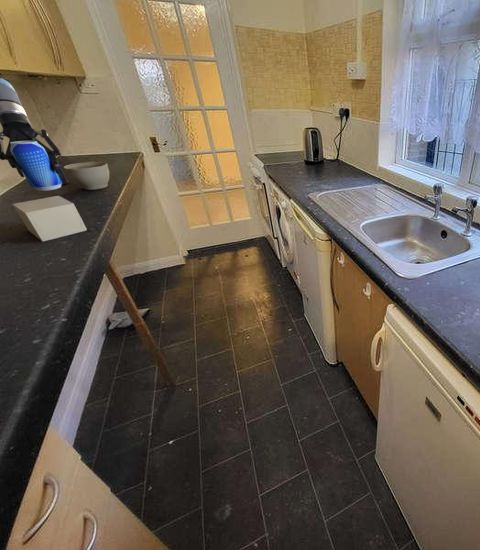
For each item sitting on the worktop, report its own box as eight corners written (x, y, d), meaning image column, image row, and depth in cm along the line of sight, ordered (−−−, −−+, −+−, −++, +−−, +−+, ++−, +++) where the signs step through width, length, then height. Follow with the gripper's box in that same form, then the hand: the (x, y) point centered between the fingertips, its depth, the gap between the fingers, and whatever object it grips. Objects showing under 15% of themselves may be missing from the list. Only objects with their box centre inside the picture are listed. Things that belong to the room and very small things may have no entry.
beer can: (34, 192, 105) (6, 144, 97) (32, 188, 110) (5, 141, 102) (65, 188, 110) (41, 142, 102) (62, 184, 115) (39, 139, 107)
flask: (52, 187, 147) (40, 164, 141) (47, 187, 147) (34, 164, 141) (70, 182, 154) (59, 161, 149) (65, 182, 155) (54, 161, 149)
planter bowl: (72, 193, 138) (60, 169, 133) (78, 186, 150) (67, 163, 144) (114, 189, 146) (104, 166, 140) (117, 182, 157) (108, 160, 152)
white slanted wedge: (29, 231, 101) (12, 203, 96) (71, 221, 109) (58, 195, 104) (42, 241, 94) (25, 213, 89) (87, 230, 103) (73, 203, 98)
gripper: (57, 125, 116) (81, 175, 114) (-25, 128, 103) (1, 183, 102) (50, 110, 110) (75, 162, 108) (-38, 111, 97) (-10, 170, 96)
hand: (39, 172), depth 105 cm, fingers closed on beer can, 8 cm apart
